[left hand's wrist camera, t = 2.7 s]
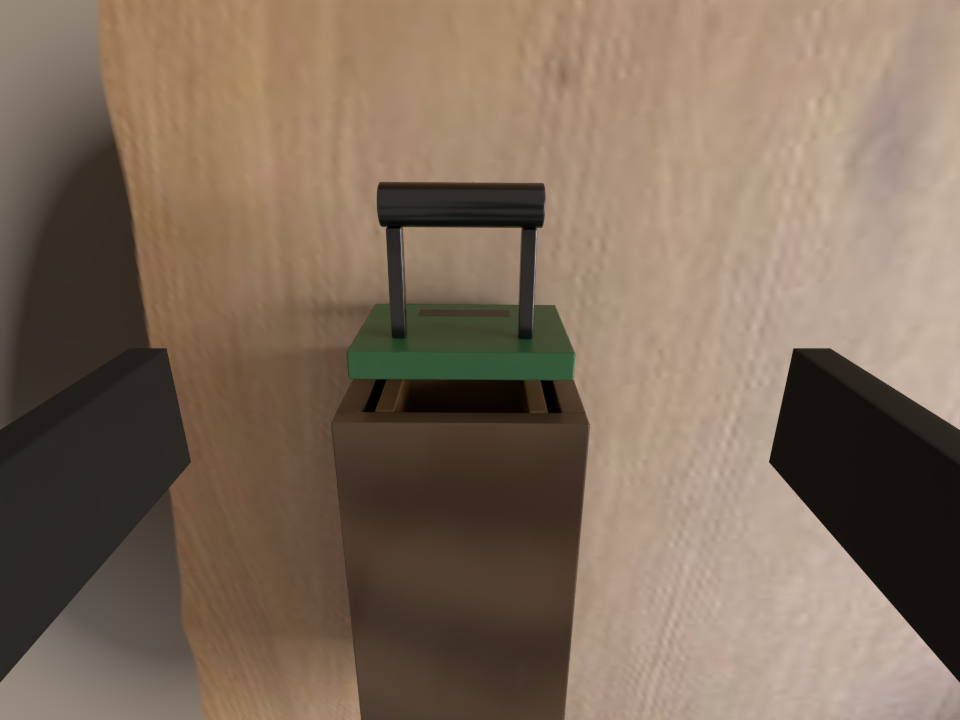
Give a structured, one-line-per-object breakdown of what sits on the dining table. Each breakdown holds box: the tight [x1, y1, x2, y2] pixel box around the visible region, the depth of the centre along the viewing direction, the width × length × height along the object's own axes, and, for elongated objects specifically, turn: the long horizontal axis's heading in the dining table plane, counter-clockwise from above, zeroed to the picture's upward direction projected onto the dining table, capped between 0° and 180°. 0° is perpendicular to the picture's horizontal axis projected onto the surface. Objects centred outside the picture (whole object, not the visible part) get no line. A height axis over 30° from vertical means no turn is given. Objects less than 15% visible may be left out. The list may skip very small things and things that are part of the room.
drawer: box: [347, 182, 575, 413], centre depth 28 cm, size 26×9×7 cm, turn 0°
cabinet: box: [331, 379, 590, 720], centre depth 31 cm, size 21×10×9 cm, turn 0°
